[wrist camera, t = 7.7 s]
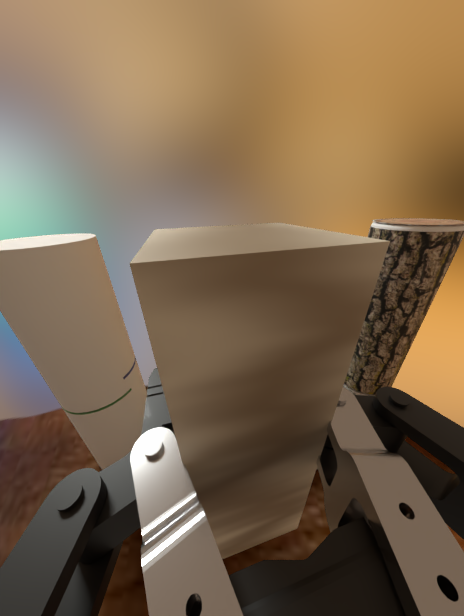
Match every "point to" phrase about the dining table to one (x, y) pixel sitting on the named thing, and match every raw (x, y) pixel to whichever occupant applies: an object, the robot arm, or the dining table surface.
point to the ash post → (253, 359)
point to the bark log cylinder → (401, 296)
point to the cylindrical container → (75, 336)
